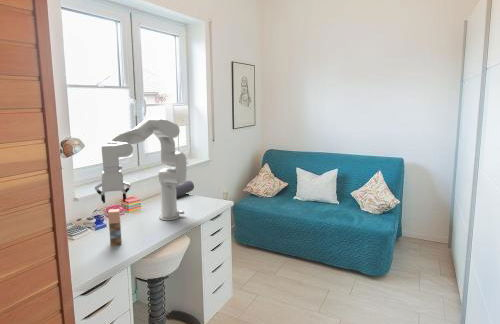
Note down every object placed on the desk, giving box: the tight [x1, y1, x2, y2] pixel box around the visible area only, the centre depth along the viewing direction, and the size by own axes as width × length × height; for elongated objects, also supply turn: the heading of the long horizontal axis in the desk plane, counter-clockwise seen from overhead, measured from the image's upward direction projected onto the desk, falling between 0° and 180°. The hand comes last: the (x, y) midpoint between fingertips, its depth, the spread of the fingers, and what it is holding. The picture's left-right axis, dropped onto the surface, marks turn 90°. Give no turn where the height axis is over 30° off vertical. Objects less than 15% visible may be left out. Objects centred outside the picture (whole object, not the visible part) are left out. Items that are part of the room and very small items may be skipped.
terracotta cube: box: [107, 208, 121, 225], centre depth 186 cm, size 5×5×6 cm
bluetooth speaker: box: [175, 180, 195, 198], centre depth 279 cm, size 23×9×10 cm, turn 149°
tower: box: [108, 222, 123, 247], centre depth 187 cm, size 5×5×12 cm
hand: (114, 201), depth 185 cm, fingers open, 9 cm apart
